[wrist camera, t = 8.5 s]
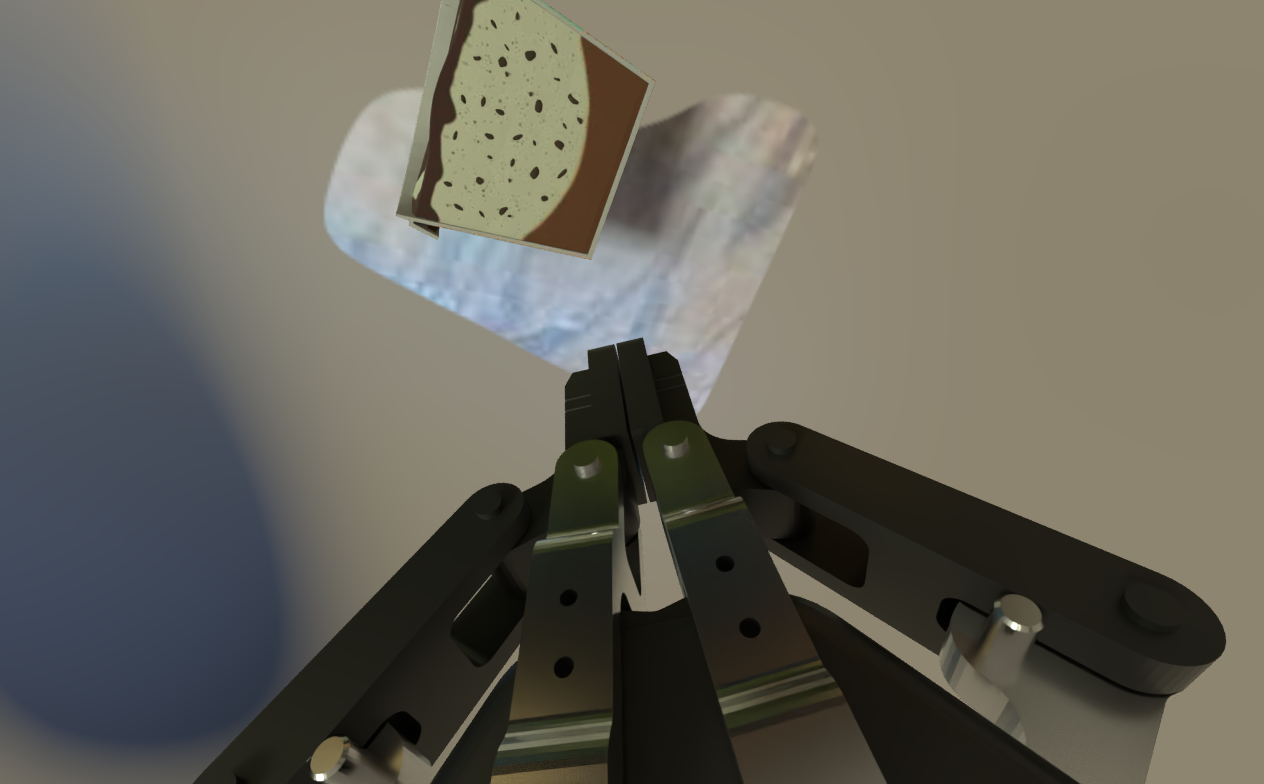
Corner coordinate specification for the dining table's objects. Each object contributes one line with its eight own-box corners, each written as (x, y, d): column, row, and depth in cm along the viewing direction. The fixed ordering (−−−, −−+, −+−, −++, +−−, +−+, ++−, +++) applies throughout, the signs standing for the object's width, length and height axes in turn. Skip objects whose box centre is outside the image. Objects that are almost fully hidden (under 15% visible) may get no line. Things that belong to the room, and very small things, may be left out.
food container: (628, 54, 30) (451, -44, 25) (667, 47, 25) (455, -77, 20) (560, 255, 34) (400, 202, 30) (582, 284, 29) (393, 226, 25)
